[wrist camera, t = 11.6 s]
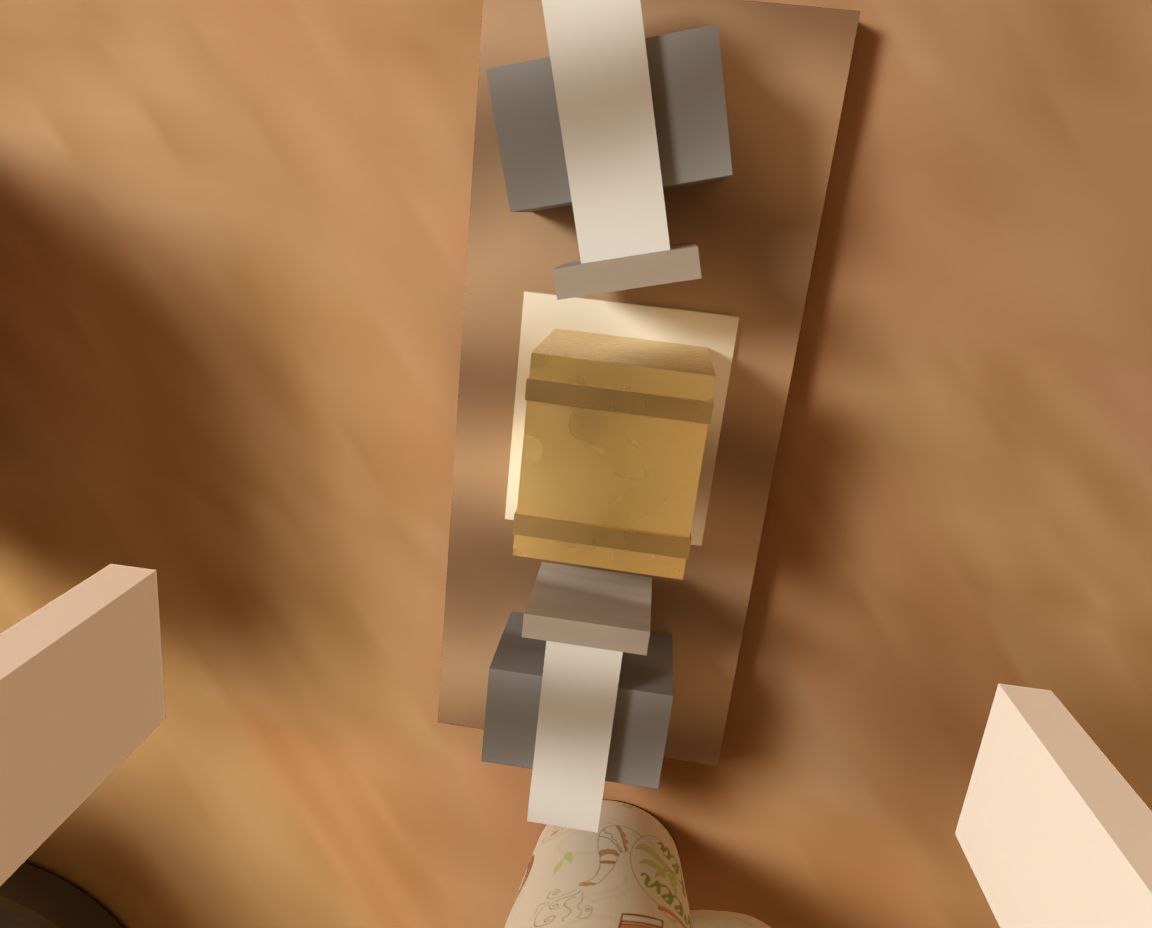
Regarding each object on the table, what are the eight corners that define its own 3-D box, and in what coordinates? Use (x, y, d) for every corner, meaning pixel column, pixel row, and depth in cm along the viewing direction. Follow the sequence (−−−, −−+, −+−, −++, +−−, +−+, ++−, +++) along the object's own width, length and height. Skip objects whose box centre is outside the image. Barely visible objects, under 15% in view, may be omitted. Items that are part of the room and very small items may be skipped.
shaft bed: (716, 750, 32) (727, 869, 26) (444, 707, 33) (396, 815, 27) (852, 17, 24) (912, -46, 18) (491, -16, 25) (439, -87, 19)
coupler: (553, 327, 27) (528, 353, 22) (708, 347, 26) (718, 376, 22) (536, 498, 29) (510, 556, 24) (681, 518, 28) (684, 581, 23)
